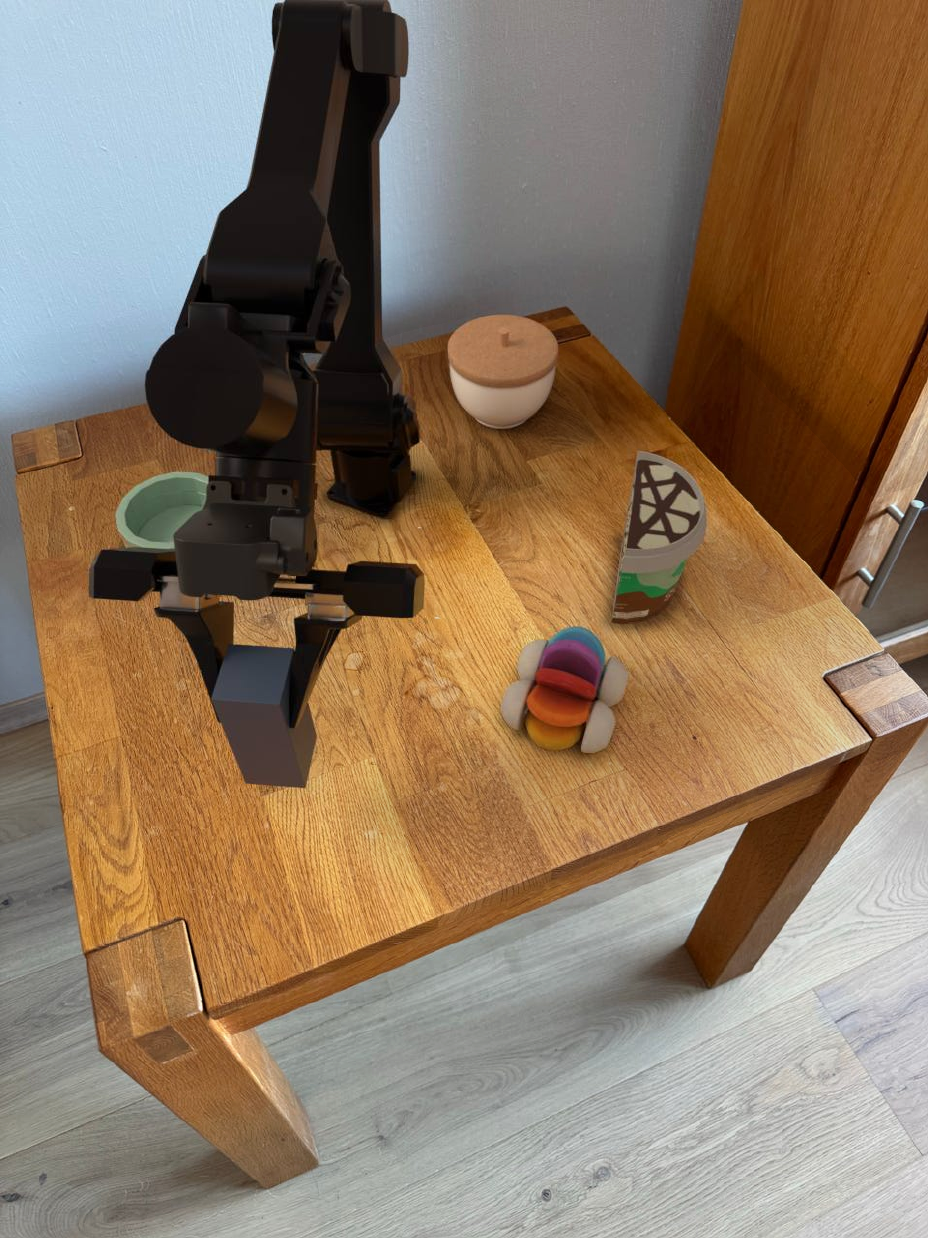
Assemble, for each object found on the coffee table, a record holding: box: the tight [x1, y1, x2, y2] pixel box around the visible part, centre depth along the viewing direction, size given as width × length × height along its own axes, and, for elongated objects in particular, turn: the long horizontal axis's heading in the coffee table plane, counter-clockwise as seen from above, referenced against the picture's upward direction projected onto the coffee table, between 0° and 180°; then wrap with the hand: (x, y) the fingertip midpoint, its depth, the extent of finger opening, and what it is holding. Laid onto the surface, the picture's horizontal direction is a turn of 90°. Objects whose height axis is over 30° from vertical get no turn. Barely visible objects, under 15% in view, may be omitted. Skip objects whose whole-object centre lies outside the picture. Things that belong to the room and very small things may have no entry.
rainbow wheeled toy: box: [500, 625, 630, 754], centre depth 68 cm, size 8×10×7 cm
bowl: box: [115, 470, 208, 549], centre depth 82 cm, size 10×10×4 cm
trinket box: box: [447, 314, 559, 430], centre depth 91 cm, size 11×11×9 cm
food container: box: [610, 450, 708, 625], centre depth 75 cm, size 12×6×10 cm, turn 168°
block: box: [211, 643, 318, 789], centre depth 57 cm, size 4×4×10 cm
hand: (258, 724), depth 55 cm, fingers closed on block, 4 cm apart
